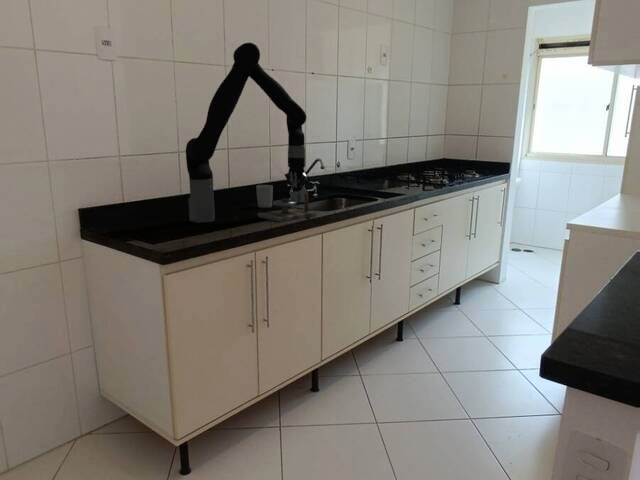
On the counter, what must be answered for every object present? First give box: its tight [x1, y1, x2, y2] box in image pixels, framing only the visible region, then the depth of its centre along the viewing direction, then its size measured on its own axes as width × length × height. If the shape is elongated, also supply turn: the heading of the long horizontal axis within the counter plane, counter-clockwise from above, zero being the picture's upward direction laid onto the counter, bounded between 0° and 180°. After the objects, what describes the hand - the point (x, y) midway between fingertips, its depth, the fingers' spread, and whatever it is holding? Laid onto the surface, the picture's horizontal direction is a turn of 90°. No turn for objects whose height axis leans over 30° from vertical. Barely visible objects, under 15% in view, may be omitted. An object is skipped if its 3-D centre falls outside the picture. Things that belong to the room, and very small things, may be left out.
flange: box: [272, 189, 309, 207], centre depth 212 cm, size 18×10×5 cm, turn 139°
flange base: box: [257, 193, 317, 222], centre depth 211 cm, size 20×15×9 cm
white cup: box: [255, 184, 274, 209], centre depth 237 cm, size 8×8×10 cm
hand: (296, 195), depth 219 cm, fingers closed
